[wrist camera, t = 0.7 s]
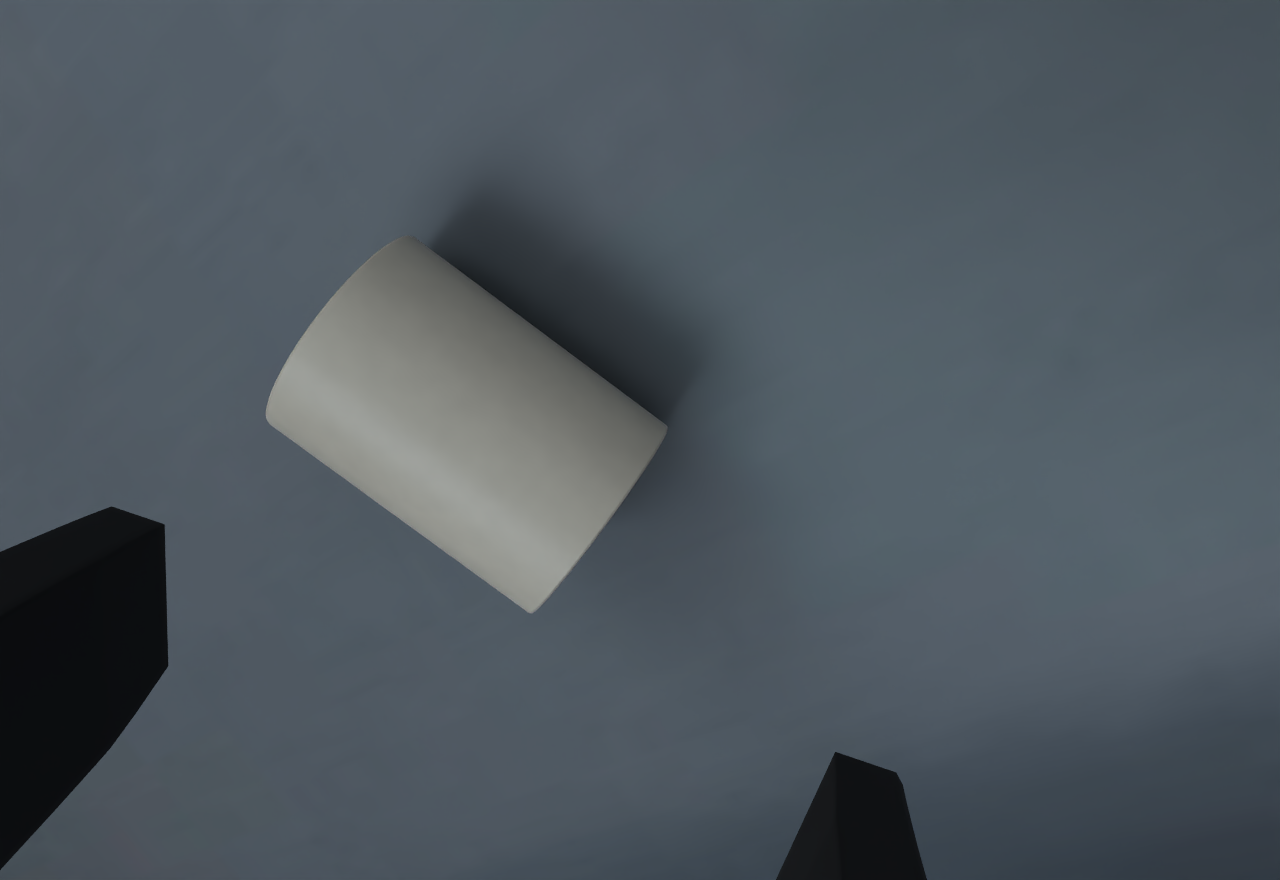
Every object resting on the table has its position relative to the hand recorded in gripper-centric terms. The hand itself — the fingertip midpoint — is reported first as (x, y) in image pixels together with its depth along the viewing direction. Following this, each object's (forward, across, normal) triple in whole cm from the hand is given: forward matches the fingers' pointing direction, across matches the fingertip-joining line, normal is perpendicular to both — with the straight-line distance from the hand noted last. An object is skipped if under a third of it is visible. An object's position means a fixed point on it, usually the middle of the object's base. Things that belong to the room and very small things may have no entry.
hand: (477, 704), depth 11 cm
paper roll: (+11, +3, +3) cm, 12 cm away
